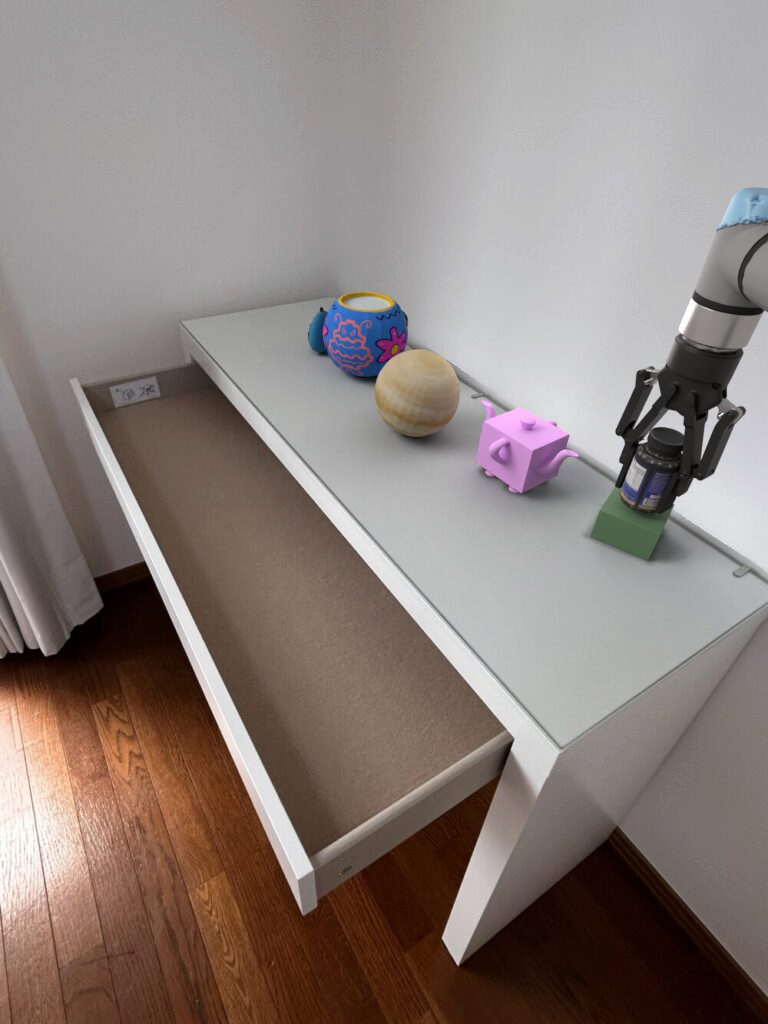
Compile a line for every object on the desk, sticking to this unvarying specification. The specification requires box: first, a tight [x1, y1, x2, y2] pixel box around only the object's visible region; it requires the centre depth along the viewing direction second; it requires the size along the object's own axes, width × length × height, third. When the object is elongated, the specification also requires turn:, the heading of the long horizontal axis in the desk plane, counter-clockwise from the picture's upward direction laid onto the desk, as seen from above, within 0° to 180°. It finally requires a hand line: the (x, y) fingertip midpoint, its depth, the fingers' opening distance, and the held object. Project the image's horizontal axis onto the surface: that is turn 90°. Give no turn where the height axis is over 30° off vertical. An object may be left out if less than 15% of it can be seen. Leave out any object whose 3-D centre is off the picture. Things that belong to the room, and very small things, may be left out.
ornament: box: [307, 306, 328, 354], centre depth 126 cm, size 8×5×10 cm, turn 152°
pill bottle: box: [620, 426, 684, 513], centre depth 78 cm, size 6×6×11 cm
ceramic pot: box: [323, 291, 409, 378], centre depth 118 cm, size 18×18×15 cm
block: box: [589, 486, 675, 561], centre depth 84 cm, size 8×8×5 cm
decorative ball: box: [374, 348, 461, 438], centre depth 100 cm, size 15×15×15 cm
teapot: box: [475, 399, 580, 494], centre depth 92 cm, size 15×13×11 cm
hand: (642, 496), depth 81 cm, fingers closed on pill bottle, 6 cm apart
